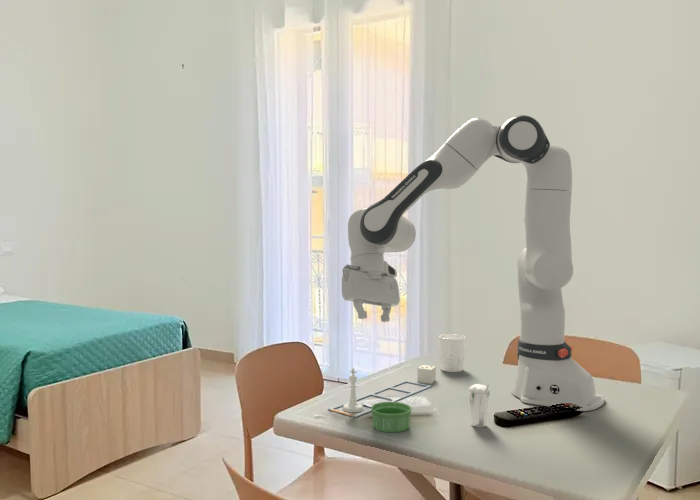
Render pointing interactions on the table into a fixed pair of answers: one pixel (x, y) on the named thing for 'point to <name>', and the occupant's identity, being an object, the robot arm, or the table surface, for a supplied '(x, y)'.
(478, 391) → the milkshake
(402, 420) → the ramekin
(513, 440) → the table surface
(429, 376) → the die
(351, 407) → the chess piece
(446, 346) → the white cup
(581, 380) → the robot arm
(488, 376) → the table surface
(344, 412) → the ladder
